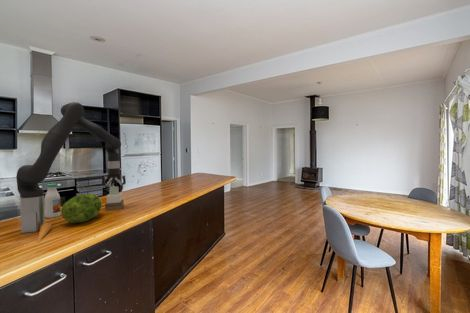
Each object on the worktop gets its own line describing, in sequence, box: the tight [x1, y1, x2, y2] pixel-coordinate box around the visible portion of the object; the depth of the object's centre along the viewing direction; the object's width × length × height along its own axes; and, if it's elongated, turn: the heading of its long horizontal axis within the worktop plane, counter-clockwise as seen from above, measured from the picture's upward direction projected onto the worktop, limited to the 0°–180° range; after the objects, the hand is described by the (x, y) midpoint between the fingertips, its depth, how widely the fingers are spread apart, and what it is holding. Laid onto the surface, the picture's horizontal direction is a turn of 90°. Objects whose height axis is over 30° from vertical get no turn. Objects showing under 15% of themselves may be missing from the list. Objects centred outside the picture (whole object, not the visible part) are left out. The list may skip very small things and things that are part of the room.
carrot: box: [37, 222, 52, 243], centre depth 113 cm, size 20×4×4 cm, turn 29°
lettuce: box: [61, 193, 103, 224], centre depth 138 cm, size 15×27×16 cm, turn 0°
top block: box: [106, 192, 123, 203], centre depth 164 cm, size 8×8×5 cm
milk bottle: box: [44, 183, 62, 219], centre depth 145 cm, size 8×8×20 cm
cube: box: [108, 186, 120, 195], centre depth 164 cm, size 5×5×5 cm
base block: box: [104, 199, 125, 211], centre depth 165 cm, size 10×10×5 cm
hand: (114, 190), depth 164 cm, fingers open, 8 cm apart
